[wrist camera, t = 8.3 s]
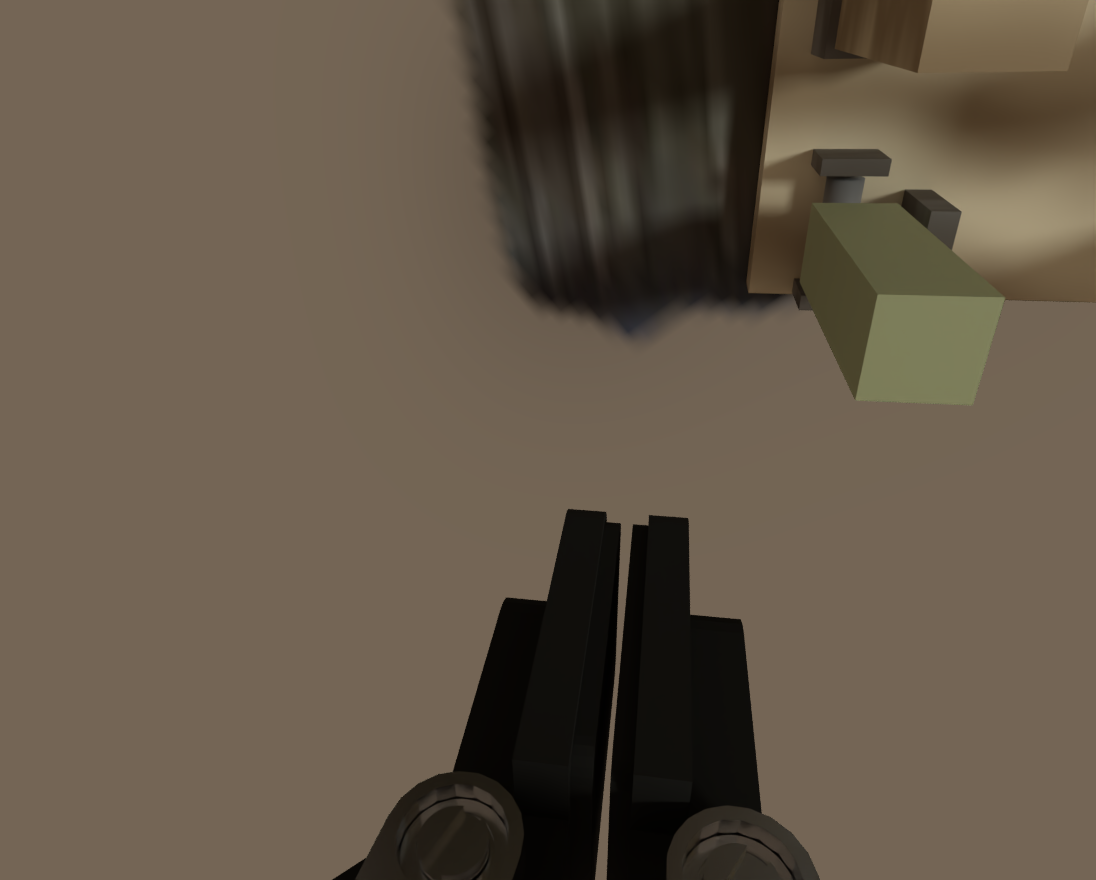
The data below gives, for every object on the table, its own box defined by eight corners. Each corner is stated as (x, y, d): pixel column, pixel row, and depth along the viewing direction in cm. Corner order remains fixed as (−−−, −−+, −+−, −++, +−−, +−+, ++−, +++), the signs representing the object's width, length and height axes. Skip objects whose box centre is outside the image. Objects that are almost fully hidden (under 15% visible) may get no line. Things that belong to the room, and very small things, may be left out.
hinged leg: (802, 173, 29) (882, 275, 18) (882, 174, 29) (1011, 277, 18) (788, 272, 31) (851, 416, 20) (862, 274, 31) (967, 421, 20)
